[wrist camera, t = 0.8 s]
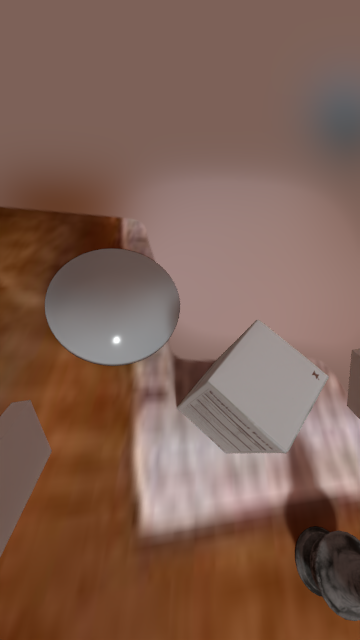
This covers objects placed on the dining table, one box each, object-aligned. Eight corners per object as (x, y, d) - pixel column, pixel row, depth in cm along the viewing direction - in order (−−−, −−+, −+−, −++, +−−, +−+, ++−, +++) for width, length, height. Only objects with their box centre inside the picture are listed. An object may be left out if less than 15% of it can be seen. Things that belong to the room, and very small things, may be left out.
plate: (25, 279, 34) (22, 274, 33) (139, 239, 40) (140, 234, 39) (83, 392, 29) (82, 390, 28) (202, 327, 35) (204, 324, 35)
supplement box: (213, 361, 34) (259, 314, 23) (260, 404, 32) (334, 376, 21) (173, 407, 30) (205, 378, 19) (225, 456, 29) (290, 456, 18)
